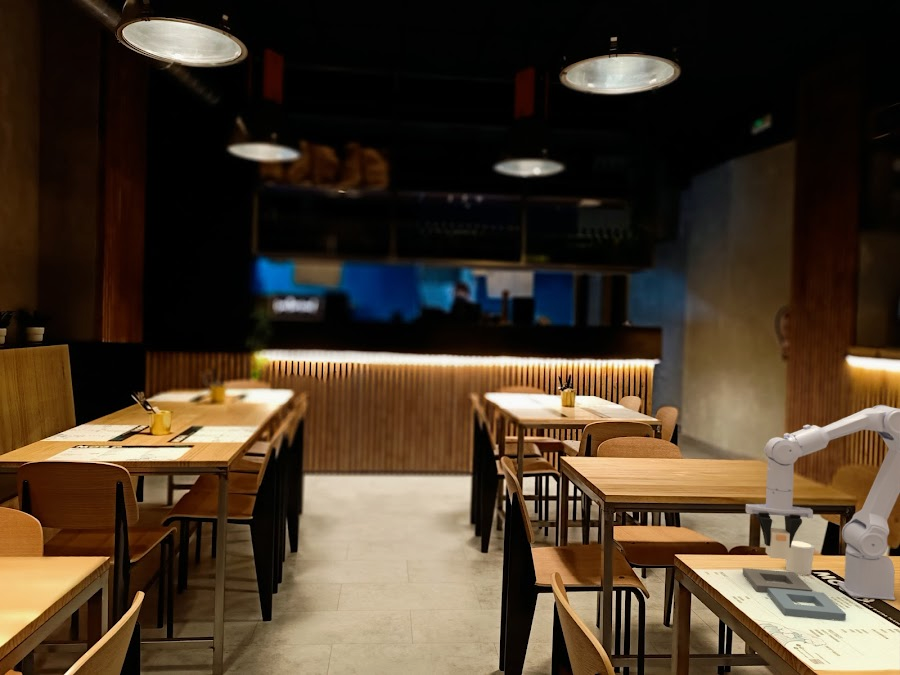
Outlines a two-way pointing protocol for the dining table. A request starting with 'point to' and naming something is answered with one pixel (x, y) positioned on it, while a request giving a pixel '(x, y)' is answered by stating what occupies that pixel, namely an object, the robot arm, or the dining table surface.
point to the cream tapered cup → (800, 557)
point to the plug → (779, 544)
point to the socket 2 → (821, 611)
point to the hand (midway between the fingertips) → (777, 545)
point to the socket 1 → (760, 576)
